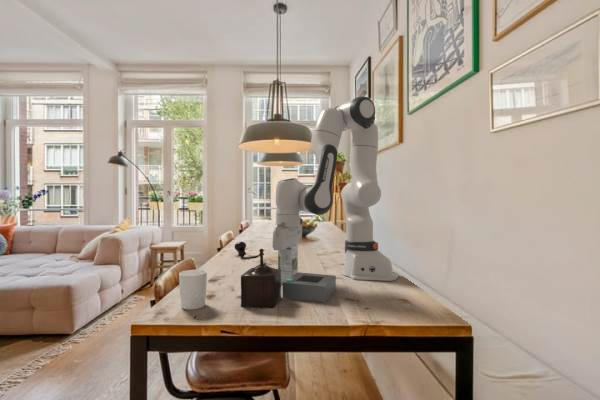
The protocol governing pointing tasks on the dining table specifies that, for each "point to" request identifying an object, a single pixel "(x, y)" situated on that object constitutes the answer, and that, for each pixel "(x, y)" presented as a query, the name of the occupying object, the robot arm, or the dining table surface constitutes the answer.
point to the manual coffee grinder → (259, 282)
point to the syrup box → (288, 263)
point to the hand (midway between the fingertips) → (288, 258)
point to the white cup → (192, 288)
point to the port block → (309, 287)
